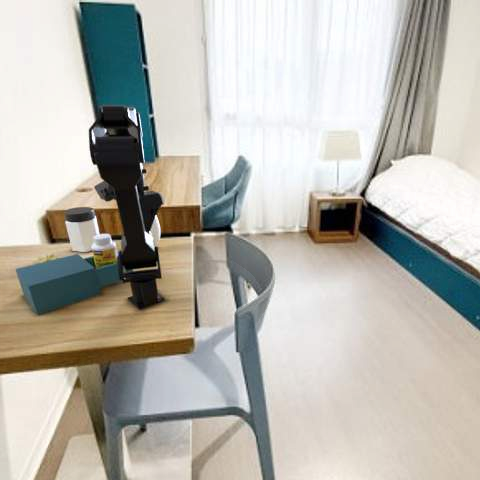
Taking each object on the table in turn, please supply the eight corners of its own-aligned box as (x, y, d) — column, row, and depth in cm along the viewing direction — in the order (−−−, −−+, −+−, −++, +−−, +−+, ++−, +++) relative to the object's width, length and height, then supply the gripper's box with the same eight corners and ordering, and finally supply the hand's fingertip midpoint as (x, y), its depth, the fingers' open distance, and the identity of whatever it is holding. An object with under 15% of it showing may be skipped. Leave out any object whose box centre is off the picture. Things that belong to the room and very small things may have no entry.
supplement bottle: (94, 279, 91) (86, 240, 87) (101, 269, 96) (93, 232, 92) (118, 277, 92) (110, 239, 88) (123, 268, 97) (116, 232, 93)
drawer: (132, 262, 103) (129, 245, 101) (149, 274, 97) (146, 255, 94) (68, 280, 93) (63, 261, 91) (83, 295, 86) (78, 275, 84)
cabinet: (83, 278, 96) (77, 253, 93) (100, 294, 89) (94, 267, 85) (24, 295, 88) (15, 269, 84) (37, 314, 80) (28, 286, 77)
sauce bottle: (132, 247, 116) (122, 191, 108) (155, 242, 121) (147, 187, 113) (143, 255, 111) (133, 196, 103) (166, 248, 115) (159, 191, 107)
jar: (108, 244, 118) (100, 207, 113) (90, 253, 111) (82, 215, 106) (84, 241, 120) (76, 205, 115) (65, 250, 113) (56, 212, 108)
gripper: (80, 163, 88) (93, 225, 95) (111, 174, 76) (124, 244, 83) (125, 158, 95) (134, 216, 102) (160, 168, 83) (168, 233, 90)
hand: (139, 227), depth 94 cm, fingers open, 9 cm apart
